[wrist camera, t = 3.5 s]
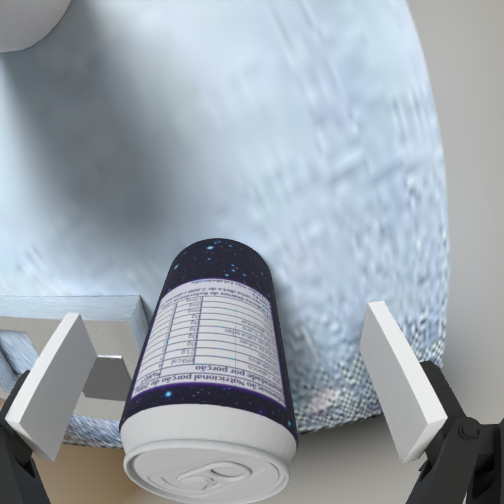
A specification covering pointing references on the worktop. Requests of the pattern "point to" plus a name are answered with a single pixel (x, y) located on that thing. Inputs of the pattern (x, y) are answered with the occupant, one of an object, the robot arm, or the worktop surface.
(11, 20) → the coffee cup
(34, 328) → the white compartment tray
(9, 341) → the worktop surface
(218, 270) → the beverage can
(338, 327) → the worktop surface
